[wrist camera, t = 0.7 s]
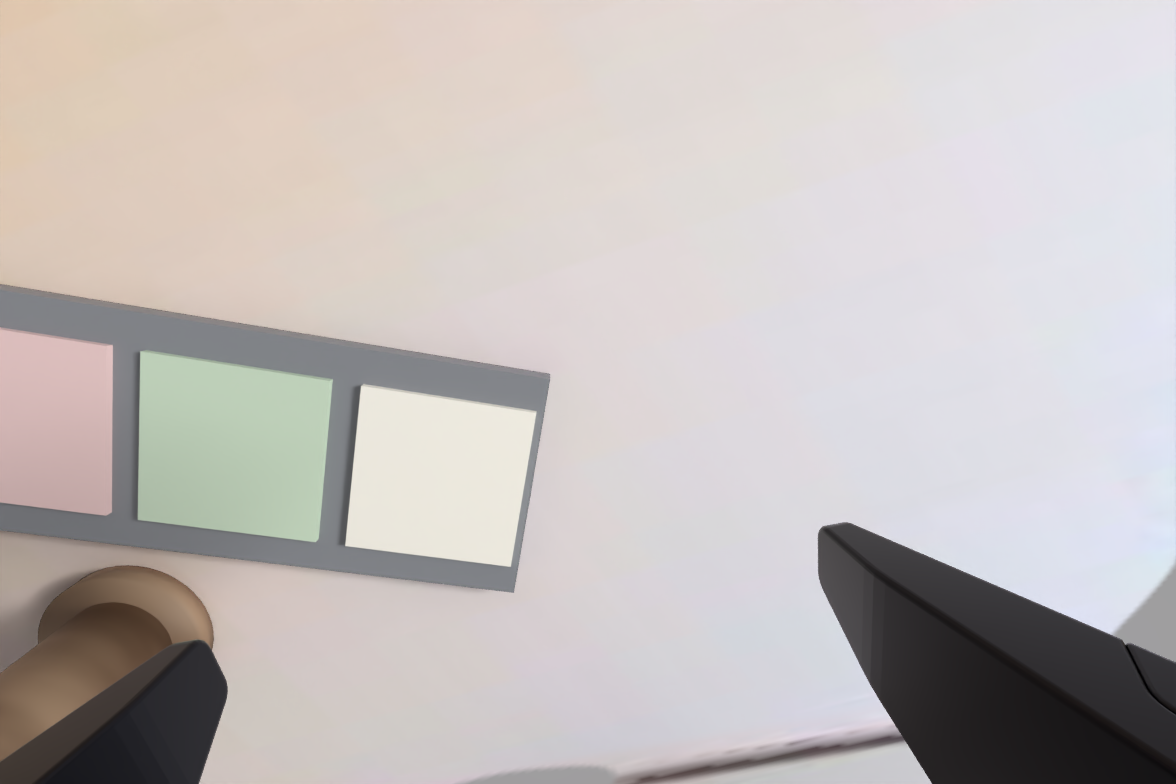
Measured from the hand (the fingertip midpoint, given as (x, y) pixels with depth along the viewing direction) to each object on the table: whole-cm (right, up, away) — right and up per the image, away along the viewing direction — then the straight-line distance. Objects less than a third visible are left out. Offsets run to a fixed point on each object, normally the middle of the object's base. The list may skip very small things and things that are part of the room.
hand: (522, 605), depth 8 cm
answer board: (-12, +1, +14) cm, 19 cm away
